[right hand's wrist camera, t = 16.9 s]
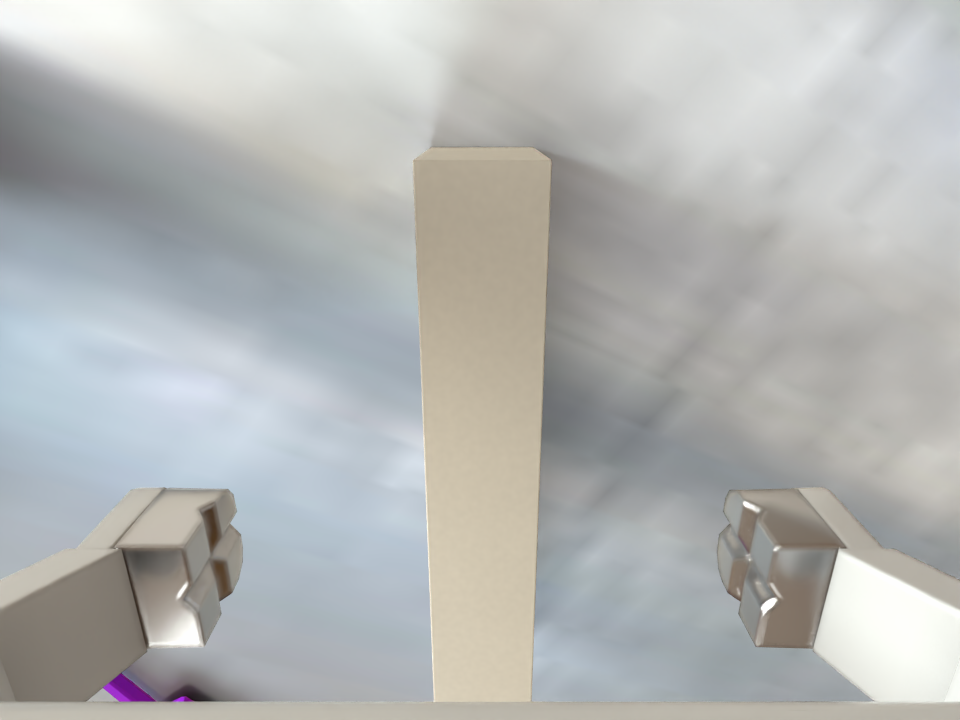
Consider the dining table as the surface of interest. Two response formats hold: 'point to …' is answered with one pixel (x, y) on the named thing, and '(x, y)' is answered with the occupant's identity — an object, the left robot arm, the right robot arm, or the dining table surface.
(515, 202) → the bar
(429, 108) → the dining table surface
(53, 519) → the dining table surface
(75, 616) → the right robot arm
